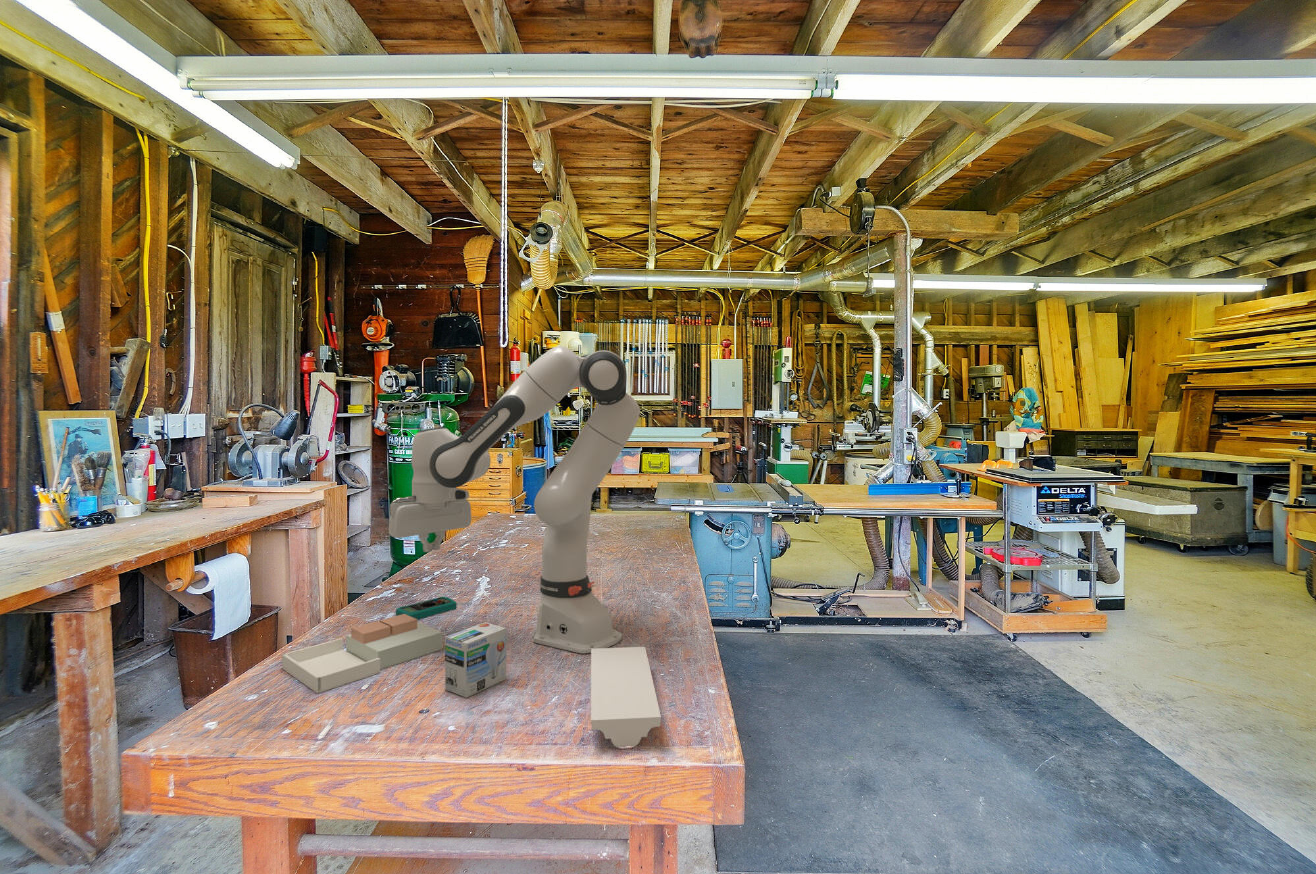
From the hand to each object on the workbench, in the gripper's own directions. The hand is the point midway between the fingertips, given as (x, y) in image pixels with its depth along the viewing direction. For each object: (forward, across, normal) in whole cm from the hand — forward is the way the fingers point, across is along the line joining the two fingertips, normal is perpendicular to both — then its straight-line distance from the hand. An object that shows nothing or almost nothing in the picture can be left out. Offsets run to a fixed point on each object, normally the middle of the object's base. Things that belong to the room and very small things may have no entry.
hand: (431, 550), depth 146 cm
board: (+21, -10, -2) cm, 24 cm away
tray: (+21, -24, -2) cm, 32 cm away
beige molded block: (+22, +4, -59) cm, 63 cm away
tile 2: (+17, -8, 0) cm, 19 cm away
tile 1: (+17, -15, 0) cm, 23 cm away
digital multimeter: (+22, +8, +17) cm, 29 cm away
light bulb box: (+21, -9, -31) cm, 39 cm away
